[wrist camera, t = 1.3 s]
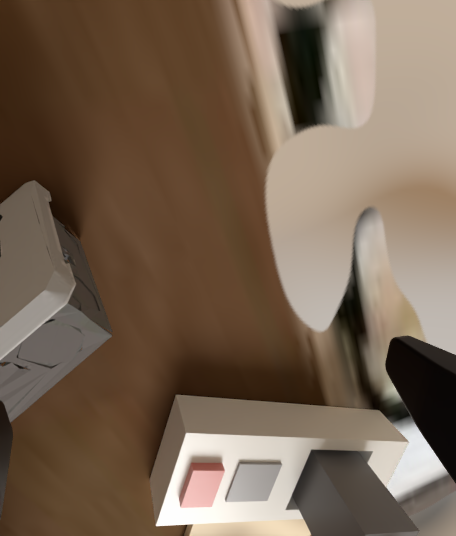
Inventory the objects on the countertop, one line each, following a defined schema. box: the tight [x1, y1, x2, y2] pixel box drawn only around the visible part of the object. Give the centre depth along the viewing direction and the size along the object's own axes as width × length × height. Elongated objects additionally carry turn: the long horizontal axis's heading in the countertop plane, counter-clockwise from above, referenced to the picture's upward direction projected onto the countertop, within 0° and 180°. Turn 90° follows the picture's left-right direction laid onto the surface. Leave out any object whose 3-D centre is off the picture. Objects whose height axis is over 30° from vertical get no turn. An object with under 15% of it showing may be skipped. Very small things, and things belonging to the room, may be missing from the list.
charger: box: [292, 449, 419, 536], centre depth 26 cm, size 4×4×10 cm
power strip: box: [150, 395, 409, 526], centre depth 28 cm, size 7×17×4 cm, turn 73°
